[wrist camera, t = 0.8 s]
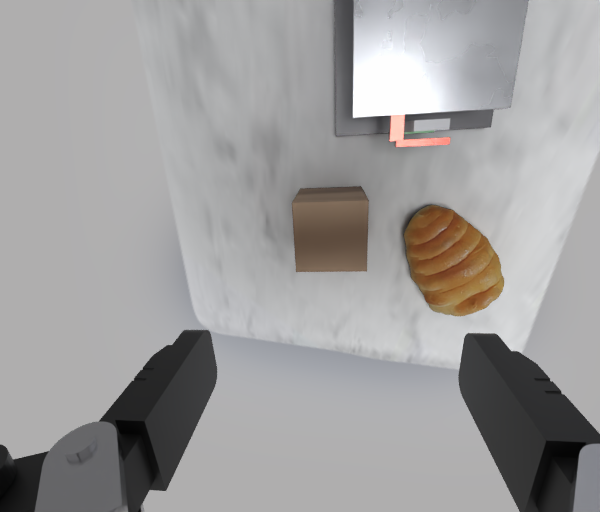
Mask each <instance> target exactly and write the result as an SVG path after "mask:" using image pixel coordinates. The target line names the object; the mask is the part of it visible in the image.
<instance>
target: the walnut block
mask: <svg viewBox="0 0 600 512" xmlns="http://www.w3.org/2000/svg"><path fill="white" fill-rule="evenodd" d="M368 204H369V200H368V198H367V197H366V195H365V193H364V191H363V189H362V187H361V186H359V187H332V188H305V189H300V190H299V192H298V194H297V195H296V197H295V199H294V200H293V202H292V212H293V228H294V245H295V261H296V272H334V271H367V242H368Z"/></svg>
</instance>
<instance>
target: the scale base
mask: <svg viewBox="0 0 600 512" xmlns="http://www.w3.org/2000/svg"><path fill="white" fill-rule="evenodd" d="M335 89H336V136H342V135H360V134H378V133H389V129H390V116H378V117H362V118H352V102H353V0H335ZM492 116H493V110H476V111H460V112H444V113H427V114H411V115H405V119H404V134H413V133H431V132H434V130H450V129H469V128H487V127H491V123H492Z"/></svg>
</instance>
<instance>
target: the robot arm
mask: <svg viewBox="0 0 600 512" xmlns="http://www.w3.org/2000/svg"><path fill="white" fill-rule="evenodd" d="M216 379H217V366H216V360H215V355H214V350H213V344H212V339H211V334H210V332H209V331H208V330H184V331H183V332H182V333H181V334H180V336H179V337H178V339H176V341H175V342H174V343H173V345H167V346H166V347H164V348H163V349H161V350H160V351H159V352H157V353H156V354H154V355H153V356H152V357H151V358H150V360H149V361H148V362H147V363H146V365H145V366H144V367H143V370H141V371H140V372H139V373H138V374H137V376H136V377H135V378H134V381H132V382H131V383H130V384H129V385H128V387H127V388H126V389H125V390H124V392H123V393H122V394H121V395H120V396H119V398H118V399H117V400H116V401H115V402H114V404H113V405H112V406H111V407H110V408H109V410H108V411H107V412H106V414H105V415H104V416H103V417H102V418H101V420H100V421H99V422H93V423H89V424H86V425H83V426H81V427H79V428H77V429H75V430H73V431H71V432H70V433H68V434H67V435H65V436H64V437H63V438H61V439H60V440H59V441H58V442H57V443H56V444H55V445H54V446H53V447H52V448H51V449H50V451H48V452H44V453H40V454H35V455H31V456H27V457H23V458H19V459H14V460H13V459H12V457H11V456H10V454H9V452H8V450H7V448H6V447H5V446H3V445H0V512H144V508H143V504H142V503H143V501H144V499H145V497H146V495H147V494H148V492H149V490H160V491H166V490H167V488H168V485H169V483H170V481H171V479H172V477H173V475H174V473H175V470H176V468H177V466H178V464H179V462H180V460H181V458H182V456H183V453H184V451H185V449H186V447H187V445H188V443H189V440H190V439H191V436H192V434H193V432H194V430H195V428H196V426H197V424H198V422H199V419H200V417H201V415H202V413H203V411H204V409H205V407H206V405H207V402H208V400H209V398H210V396H211V394H212V392H213V389H214V387H215V384H216ZM459 386H460V391H461V394H462V396H463V399H464V401H465V403H466V405H467V407H468V409H469V411H470V413H471V415H472V416H473V419H474V421H475V423H476V425H477V427H478V429H479V431H480V433H481V435H482V437H483V439H484V441H485V443H486V445H487V447H488V449H489V451H490V453H491V455H492V457H493V459H494V461H495V463H496V465H497V467H498V469H499V471H500V473H501V475H502V477H503V479H504V481H505V483H506V485H507V487H508V489H509V491H510V493H511V495H512V497H513V499H514V501H515V503H516V505H517V507H518V509H519V511H520V512H600V434H599V433H598V432H597V431H596V429H595V428H594V427H593V426H592V425H591V424H590V423H589V422H588V421H587V419H586V418H585V417H584V416H583V415H582V414H581V413H580V412H579V411H578V410H577V408H576V407H575V406H574V405H573V404H572V403H571V402H570V401H569V399H568V398H567V397H566V396H565V395H562V394H561V391H560V389H559V388H558V387H557V386H556V385H555V384H554V383H553V382H551V381H550V378H549V377H548V376H547V375H546V374H545V373H544V371H543V370H542V369H541V368H540V367H539V366H538V365H537V364H536V363H534V362H533V361H532V360H530V359H529V358H527V357H525V356H524V355H522V354H521V353H519V352H517V351H511V350H510V349H509V348H508V347H507V346H506V344H505V343H504V342H503V341H502V340H501V338H500V337H499V336H498V335H497V334H481V333H468V334H466V336H465V338H464V344H463V350H462V357H461V363H460V370H459Z"/></svg>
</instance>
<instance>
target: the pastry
mask: <svg viewBox="0 0 600 512" xmlns="http://www.w3.org/2000/svg"><path fill="white" fill-rule="evenodd" d="M404 239H405V244H406V247H407V249H406V256H407V260H408V263H409V265H410V270H411V278H412V280H413V281H414V282H415V283H416V284H417V285H418V286H419V288H420V290H421V292H422V293H423V295H424V297H425V300H426V302H427V303H429V307H430V308H431V309H432V310H433V311H435V312H438V313H443V314H446V315H450V314H451V315H453V316H465V315H468V314H472V313H474V312H477V311H479V310H482V309H484V308H486V307H487V306H488V305H489V304H490V303H491V302H492V301H494V300H496V299H497V298H498V297H499V295H500V294H501V292H502V290H503V287H504V278H503V276H502V273H501V264H500V261H499V257H498V255H497V254H496V253H495V251H494V250H493V248H492V247H491V245H490V243H489V241H488V239H487V238H486V237H485V236H483V235H482V234H481V233H480V232H479V231H478V230H477V229H475V228H474V227H473V226H472V225H471V224H470V223H468V222H467V221H465V220H464V219H463V218H462V217H461V216H459V215H458V214H457V213H455V212H454V211H453V210H450V209H446V208H443V207H440V206H436V205H429V206H427V207H425V208H422V209H421V210H419V211H418V212H417V213H416V214H415V215H414V216H413V218H412V219H411V220H410V222H409V224H408V226H407V228H406V230H405V233H404Z"/></svg>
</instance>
